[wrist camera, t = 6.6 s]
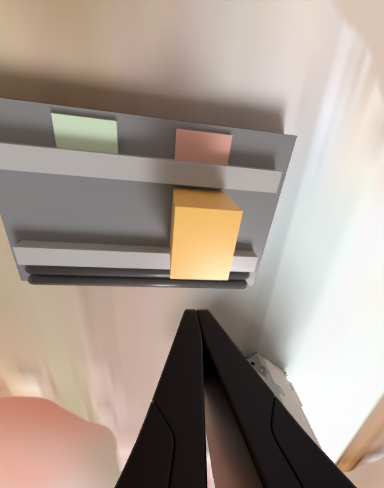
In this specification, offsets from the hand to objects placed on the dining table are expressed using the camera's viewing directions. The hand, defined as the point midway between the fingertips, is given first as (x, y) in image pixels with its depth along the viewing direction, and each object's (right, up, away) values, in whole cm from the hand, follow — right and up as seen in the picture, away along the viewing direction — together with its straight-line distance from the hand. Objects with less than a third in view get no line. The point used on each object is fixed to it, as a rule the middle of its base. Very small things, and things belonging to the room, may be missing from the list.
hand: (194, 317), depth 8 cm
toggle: (0, +5, +10) cm, 11 cm away
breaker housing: (-4, +6, +11) cm, 14 cm away
